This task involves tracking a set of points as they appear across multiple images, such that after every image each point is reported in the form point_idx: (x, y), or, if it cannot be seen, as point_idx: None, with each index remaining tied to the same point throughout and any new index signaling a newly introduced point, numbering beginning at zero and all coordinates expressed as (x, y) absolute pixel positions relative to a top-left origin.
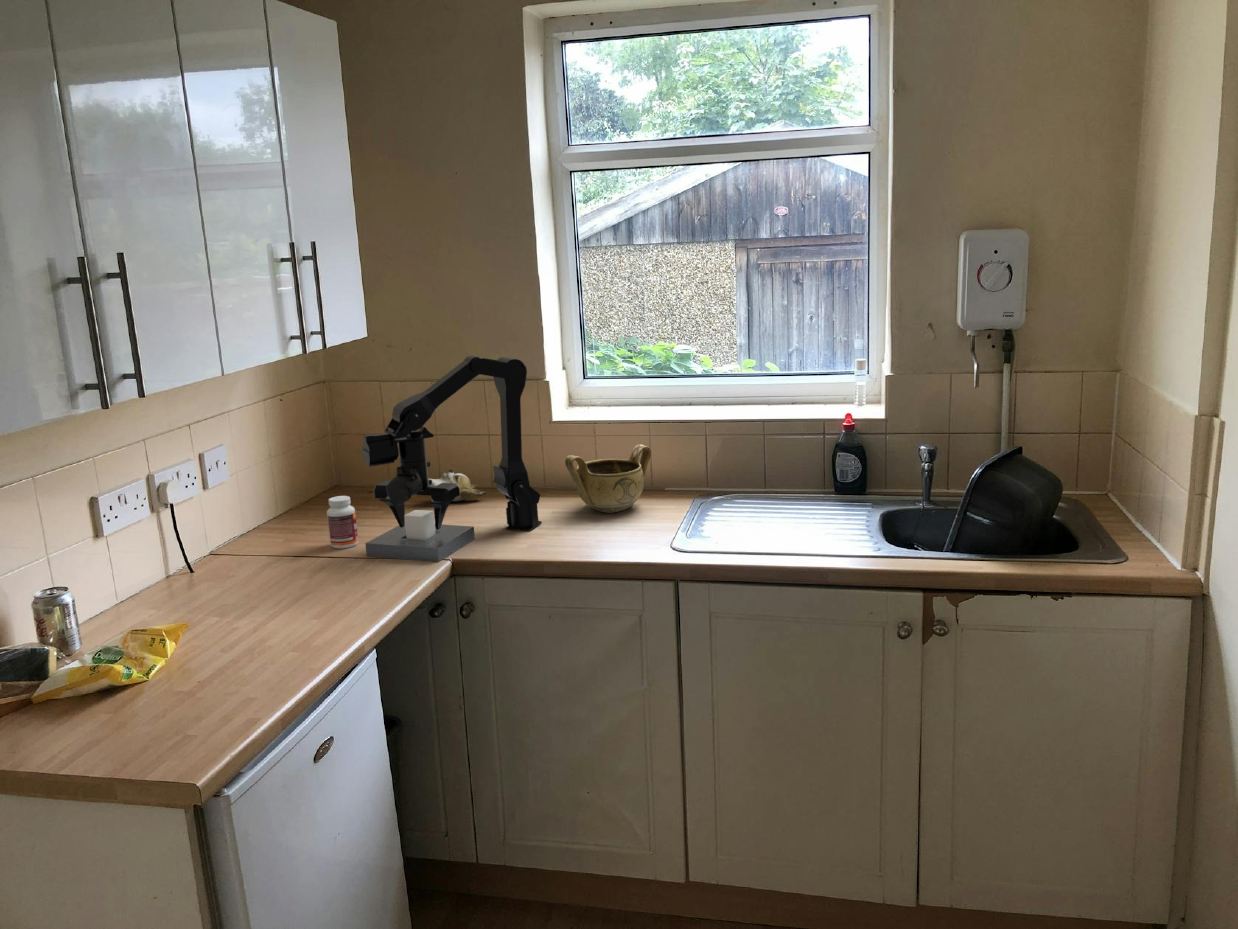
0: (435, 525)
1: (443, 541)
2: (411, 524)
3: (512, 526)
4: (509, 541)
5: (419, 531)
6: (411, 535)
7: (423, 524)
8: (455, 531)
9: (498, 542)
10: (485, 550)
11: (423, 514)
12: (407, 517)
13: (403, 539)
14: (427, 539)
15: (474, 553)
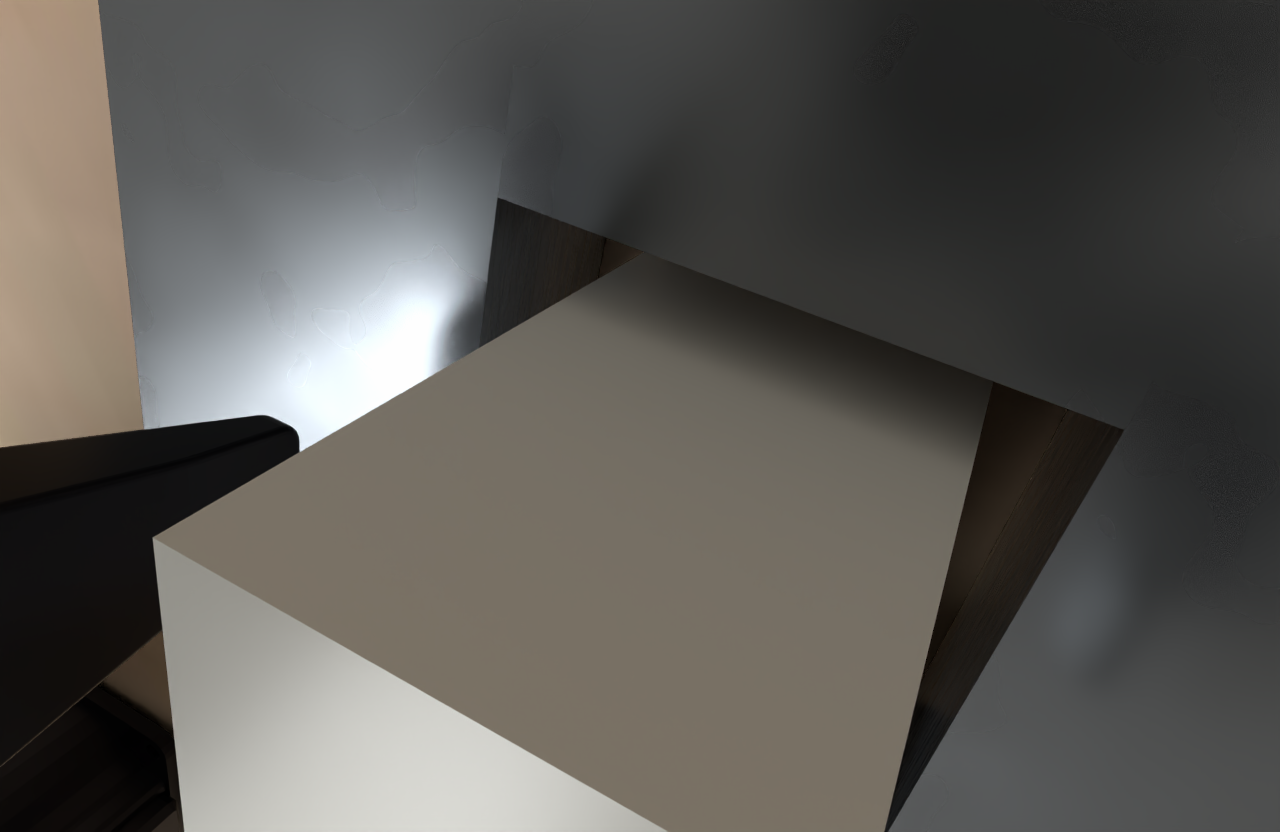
0: (213, 446)
1: (179, 66)
2: (696, 573)
3: (131, 751)
4: (19, 438)
5: (572, 396)
6: (824, 440)
7: (354, 439)
8: None
9: (75, 432)
10: (45, 196)
11: (241, 755)
12: (729, 793)
13: (1014, 308)
14: (475, 226)
15: (81, 93)
